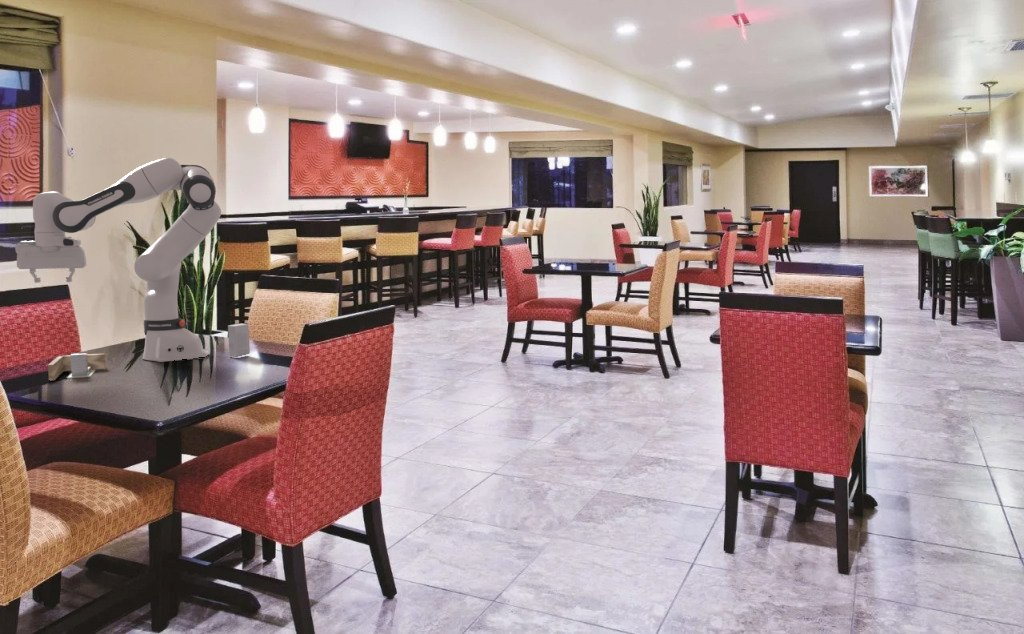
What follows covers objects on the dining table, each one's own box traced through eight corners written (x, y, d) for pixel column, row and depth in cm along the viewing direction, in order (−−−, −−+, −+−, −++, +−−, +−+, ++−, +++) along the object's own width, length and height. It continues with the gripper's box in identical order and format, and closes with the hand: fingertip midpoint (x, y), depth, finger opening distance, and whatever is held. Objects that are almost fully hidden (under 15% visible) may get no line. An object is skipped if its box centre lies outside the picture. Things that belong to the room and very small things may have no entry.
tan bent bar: (106, 368, 270) (105, 353, 270) (98, 377, 255) (97, 362, 255) (59, 370, 266) (58, 355, 265) (48, 380, 251) (47, 365, 250)
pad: (95, 370, 267) (95, 369, 267) (90, 376, 256) (90, 376, 256) (73, 371, 264) (73, 370, 264) (67, 378, 254) (66, 377, 254)
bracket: (87, 375, 257) (85, 354, 256) (71, 376, 256) (70, 355, 255) (91, 370, 265) (89, 350, 264) (76, 371, 263) (75, 350, 262)
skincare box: (242, 355, 294) (241, 323, 292) (250, 356, 291) (248, 324, 290) (228, 357, 289) (227, 325, 287) (236, 359, 286) (234, 326, 285)
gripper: (12, 241, 259) (15, 283, 261) (82, 240, 266) (85, 282, 268) (17, 240, 265) (20, 282, 267) (85, 240, 272) (88, 280, 274)
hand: (53, 282), depth 267 cm, fingers open, 8 cm apart
